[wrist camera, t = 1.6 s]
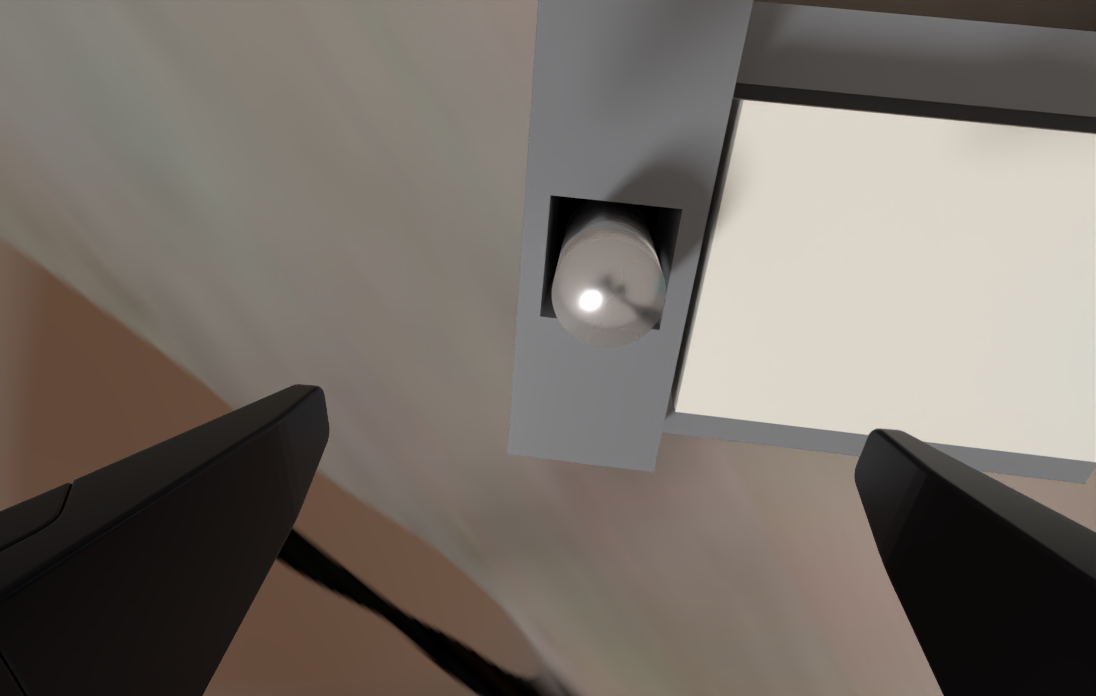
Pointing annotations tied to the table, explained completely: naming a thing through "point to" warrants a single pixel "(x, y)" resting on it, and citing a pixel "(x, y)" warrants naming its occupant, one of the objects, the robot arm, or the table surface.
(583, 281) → the release plunger
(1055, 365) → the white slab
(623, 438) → the filter housing
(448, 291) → the table surface
